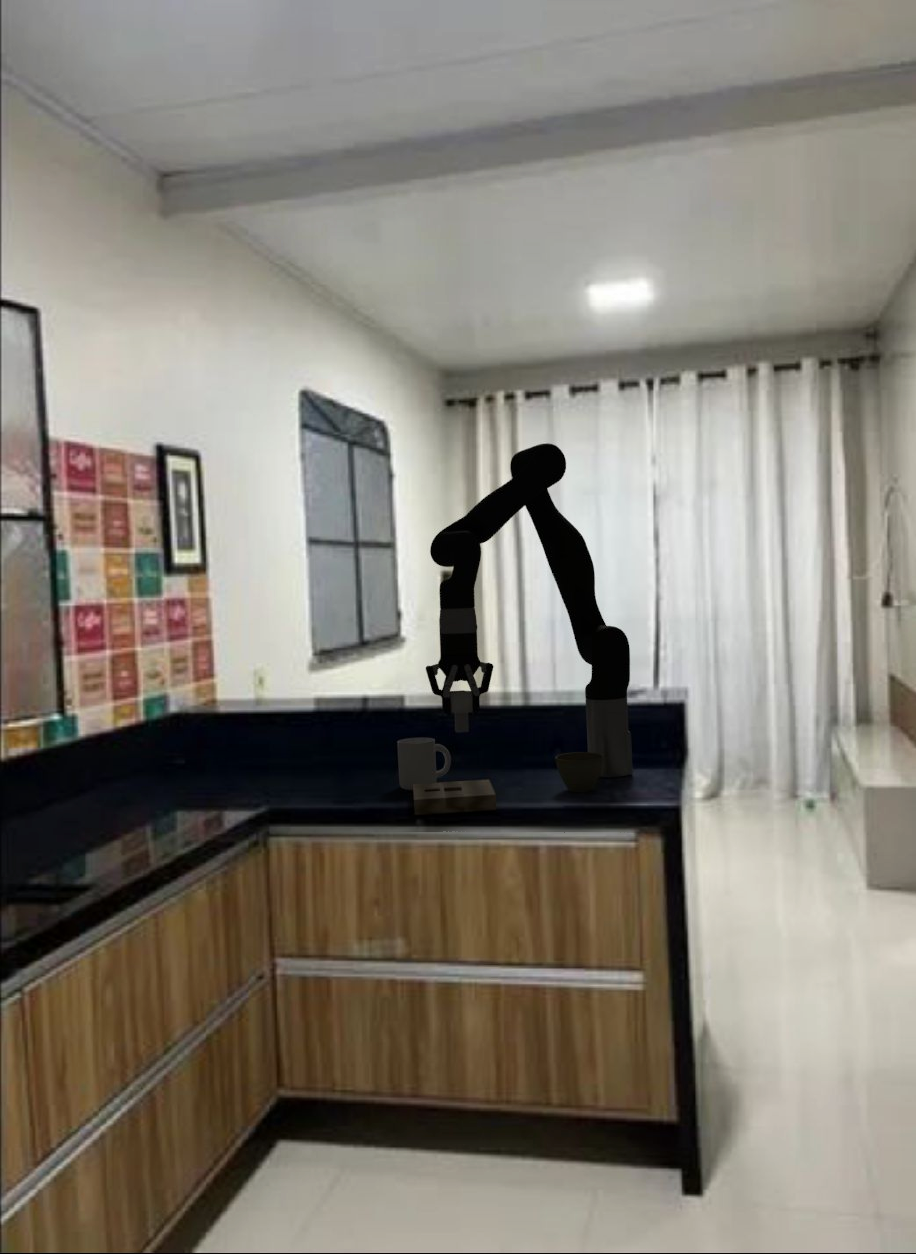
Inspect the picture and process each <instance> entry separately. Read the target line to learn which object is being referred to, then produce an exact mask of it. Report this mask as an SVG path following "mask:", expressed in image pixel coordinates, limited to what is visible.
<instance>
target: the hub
mask: <svg viewBox="0 0 916 1254" xmlns="http://www.w3.org/2000/svg"><path fill="white" fill-rule="evenodd" d="M412 792H413V808H414V815H415V816H419V815H423V816H424V815H433V814H434V815H436V814H437V815H438V814H450V813H467V812H481V811H482V812H483V811H484V812H486V811H497V795H496V794H497V793H496V792H495V790H494V788H493V785H492V783H491V781H490V779H478V780H477V779H476V780H473V779H472V780H460V781H459V780H458V781H443V782H437V783H424V784H413V790H412Z"/></svg>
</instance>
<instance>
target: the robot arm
mask: <svg viewBox="0 0 916 1254" xmlns="http://www.w3.org/2000/svg"><path fill="white" fill-rule="evenodd" d="M509 466H510V467H509V469H510V475H511V479H509V480H508V481H507V482H506V483H504V484H503V485H501V486H500V487H498V488H495V490H493V491H492V492H491V493H488V494H487V495H486V496H485V497H484V498H482V499H481V500H480V501H479V502H478V503H477V504H476V505H475V506H473V507H472V509H470V510H469V511H468V512H467V513H466V515H464V516H462V517H461V518H460V519H458V520H456V521H454V522H452V523H451V524H449V525H448V526H447V527H445V528H443V529H442V530H440V531H439V532H438V533H437V534H436V535H435V536H434V538H433V540H432V542H431V544H430V549H429V552H430V557H431V559H432V561H433V562H434V563H435V564H436V565H438V566H440V567H444V568H452V570H451V576H450V577H449V578H447V579H444V580H442V581H441V583H440V585H439V619H438V621H439V623H438V625H439V648H440V650H439V651H440V657H439V660H438V662H437V663H435V664H432V665H427V666H426V667H425V671H426V675H427V678H428V683H429V685H430V688H431V692H432V694H433V695H435V696H439V697H441V709H442V713H443V714H445V717H451V714H452V713H450V698H449V693H450V691H452V690H451V689H452V687H453V684H454V683H455V682H460V681H462V682H467V684H468V687H469V689H470V691H472V692H473V712H471V715H474V716H476V715H477V714H478V713H479V712H480V710H481V706H480V702H481V701H480V696H481V695H482V694H485V693H488V692H489V687H490V684H491V679H492V675H493V670H494V665H493V663H491V662H482V661H481V660H480V658H479V654H478V653H479V652H478V650H479V649H478V624H477V623H478V622H477V614H476V608H475V607H476V604H475V601H476V600H475V587H476V582H477V578H478V574H479V573H478V572H479V569H480V568H479V567H480V564H481V557H482V547H481V544H483V543H486V542H488V541H490V540H491V539H492V538H493V537H495V535H496V534H497V533H498V532H499V531H500V530H501V528H503V527H504V526H505V525H506V524H507V523H508V522H509V521H510V519H512V518H513V517H514V516H515V515H516V514H517V513H518V512H519V511H520V510H521V509H523V508H524V507H525V508H526V510H527V513H528V515H529V517H530V518H531V521H532V524H533V526H534V529H535V532H536V533H537V536H538V538H539V541H540V544H541V546H542V549H543V552H544V554H545V558H546V561H547V563H548V567H549V569H550V571H551V574H552V576H553V577H552V578H553V579H554V581H555V583H556V586H557V588H558V591H559V594H560V597H561V599H562V602H563V604H564V606H565V609H566V612H567V615H568V619H569V622H570V626H571V630H572V632H573V633H572V634H573V636H574V641H575V644H576V648H577V651H578V653H579V655H580V658H582V660H583V661H585V663H587V664H589V665H591V677H590V681H589V682H588V683H587V684H586V685H585V689H584V690H585V691H584V693H585V695H584V696H585V714H586V716H585V717H586V737H587V752H591V753H599V754H602V755H603V764H602V769H601V773H600V776H599V778H618V777H625V776H630V775H633V773H634V770H633V752H632V751H633V750H632V747H633V746H632V733H631V731H629V710H628V709H629V708H628V707H629V706H628V688H629V685H630V681H631V651H630V650H631V649H630V644H629V643H630V642H629V639H628V637H627V635H626V633H625V632H624V631H623V630H622V629H621V628H619V627H616V626H614V625H613V626H611V625H607V624H606V622H605V620H604V618H603V616H602V613H601V611H600V608H599V606H598V602H597V598H596V576H595V567H594V562H593V559H592V557H591V554H590V551H589V548H588V545H587V543H586V540H585V538H584V537H583V535H582V534H581V532H580V531H579V530H578V528H576V527H575V526H574V525H573V524H572V523H571V522H570V521H569V520H568V519H567V518H566V517H565V516H564V515H563V514H562V513H561V512H560V510H558V508H557V507H556V505H555V503H554V501H553V499H552V498H551V495H550V492H549V490H548V489H549V488H550V487H552V486H554V485H555V484H557V483H559V482H560V481H561V480H562V479H563V477H564V476H565V473H566V470H567V460H566V457H565V454H564V452H563V451H562V449H560V448H559V446H557V445H556V444H553V443H548V442H547V443H540V444H537V445H534V446H531V447H529V448H525V449H522V450H520V451H518V452H516V453H514V454H513V456H512V458H511V461H510V464H509ZM479 668H480V669H481V673H483V674H482V680H481V683H480V686H479V687H478V685H477V681H476V679H475V674H476V673H477V671H478V670H479ZM439 670H441V672H442V673H443V674H444V676H445V678H444V681H443V686H442V688H441V689H440V688H439V684H438V681H437V677H436V676H437V675H438V673H439Z"/></svg>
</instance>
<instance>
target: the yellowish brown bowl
mask: <svg viewBox="0 0 916 1254" xmlns="http://www.w3.org/2000/svg"><path fill="white" fill-rule="evenodd" d="M554 758H555V763H556V767H557V770H558V773H559V774H558V775H560V778H561V780H562V782H563V784H564V786H565V788H567V790H568V791H569V792H572V793H573V792H574V793H588V792H591V791H593V790H594V789H595V786H596V784H597V782H598V780H599V778H600V777H599V776H600V773H601V769H602V764H603V755H602V754H599V753H591V752H588V751H587V752H585V751H579V752H578V751H577V752H565V753H561V754H558V755H556V756H555V757H554Z"/></svg>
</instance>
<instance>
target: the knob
mask: <svg viewBox="0 0 916 1254" xmlns="http://www.w3.org/2000/svg"><path fill="white" fill-rule="evenodd" d="M449 698H450V713H451V714H454V731H455V732H456V733H469V732H470V731H469V728H470V727H469V713H472V712H473V692H472V691H471V690H464V689H463V690H450V693H449Z"/></svg>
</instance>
